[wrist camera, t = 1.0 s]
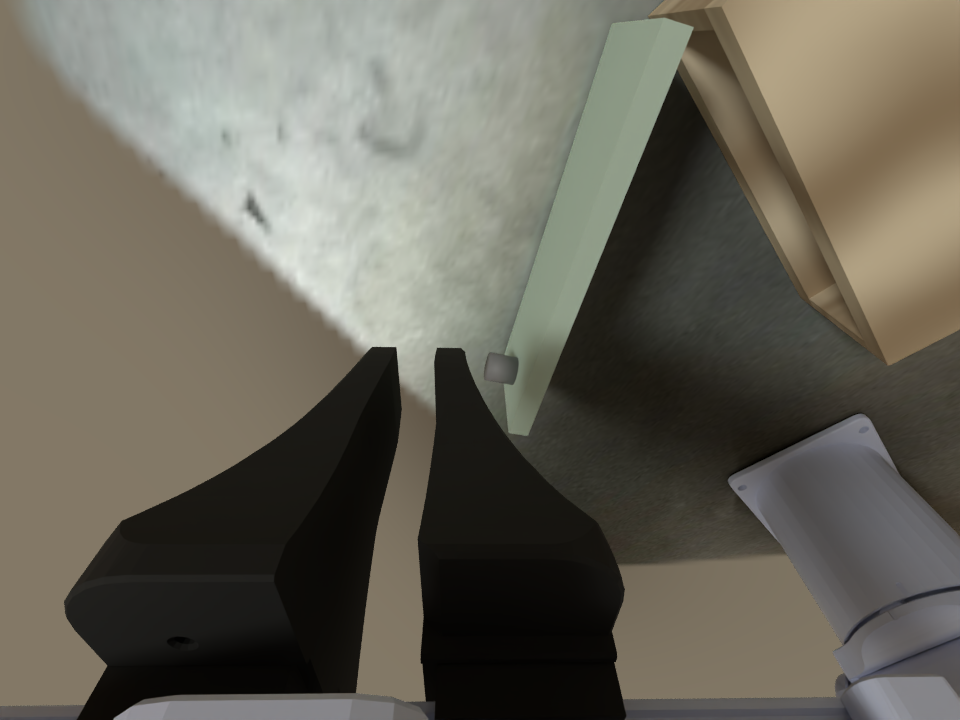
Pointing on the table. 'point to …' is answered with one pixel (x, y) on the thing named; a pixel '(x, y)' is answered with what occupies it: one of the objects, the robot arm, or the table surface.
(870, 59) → the cabinet
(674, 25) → the cabinet door
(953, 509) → the table surface
